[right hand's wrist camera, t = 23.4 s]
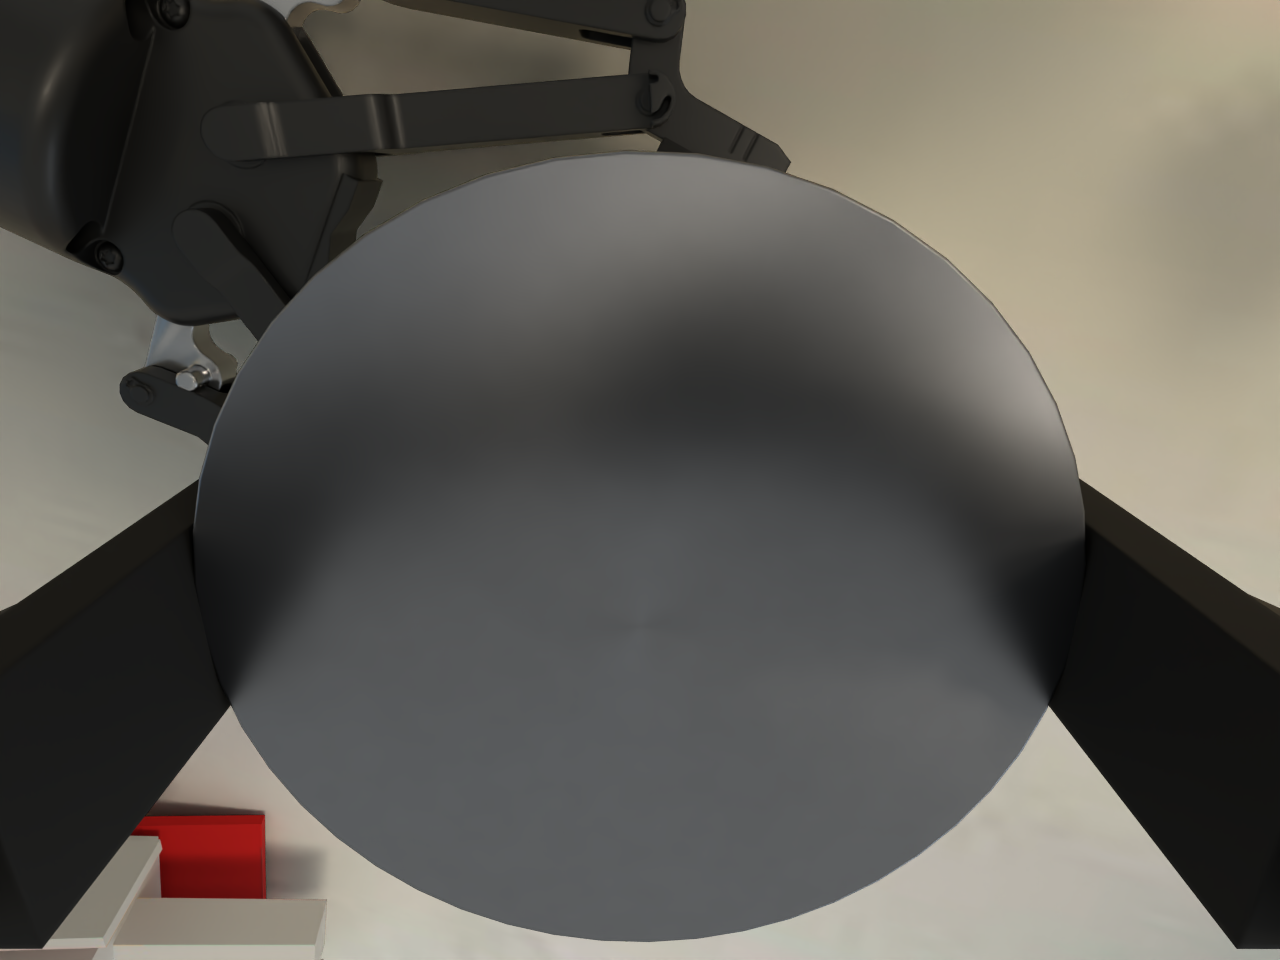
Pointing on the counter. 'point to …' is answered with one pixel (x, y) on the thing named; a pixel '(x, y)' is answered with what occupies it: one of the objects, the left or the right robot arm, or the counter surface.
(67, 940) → the toy
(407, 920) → the counter surface
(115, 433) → the counter surface
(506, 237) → the lid
